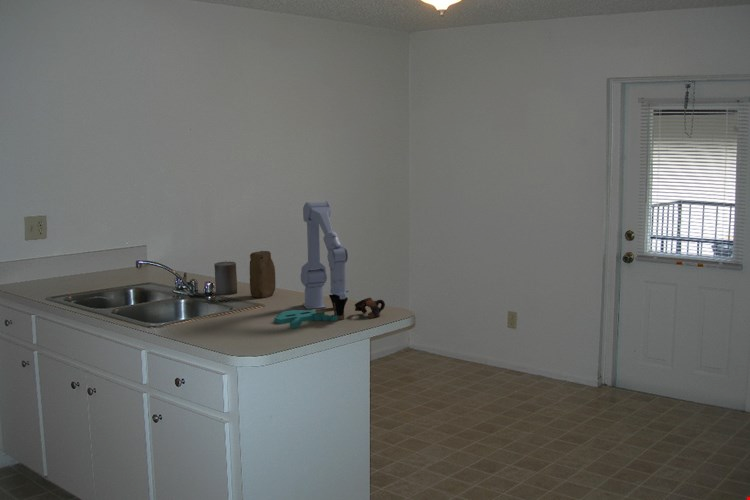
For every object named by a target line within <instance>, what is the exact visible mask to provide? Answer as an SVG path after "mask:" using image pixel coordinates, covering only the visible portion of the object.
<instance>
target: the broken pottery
mask: <svg viewBox="0 0 750 500" xmlns="http://www.w3.org/2000/svg"><path fill="white" fill-rule="evenodd" d="M379 305H380V307H379ZM354 307H355V309H354V311H355V312H361V313H362V314H363V315H364V314H365V315H366V313H367V316H368V318H369V320H370V319H373V318H378V317H380V314H381V312H382V311H383V310H384V309H385V307H386V303H385V301H384V300H383V299H377V300H374V299H372V297H366V298H364V299H362V300H359V301H358V302H356V303H354ZM367 307H368V308H370V309H371V311H370V312H367V311H368V310H367V309H366V308H367Z"/></svg>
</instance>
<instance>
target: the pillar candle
mask: <svg viewBox="0 0 750 500" xmlns="http://www.w3.org/2000/svg"><path fill="white" fill-rule="evenodd" d="M213 267H214V282H215V294H216V295H220V296H229V295H234V294H237V293H238V277H237V263H236V262H235V261H226V260H225V261H220V262H219V261H218V262H216V263H215V262H214V266H213Z"/></svg>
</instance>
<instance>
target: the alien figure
mask: <svg viewBox="0 0 750 500" xmlns="http://www.w3.org/2000/svg"><path fill="white" fill-rule="evenodd" d="M273 321H274V323H276V324H279V325H284V324H289V328H290V329H298V328H299V327H301V325H302V324H303V323H304V322H310V321H316V322H318V321H324V322H329V321H331V322H336V321H339V320H338V316H337V315H334V314H331V315H329V314H326V312H321V313H319V314H317V313H316V310H312V309H307V310H304V309H301V310H297V309H291V310H285V311H280V312H279V313H278V314H277V315H276V317H273Z"/></svg>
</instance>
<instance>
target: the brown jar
mask: <svg viewBox="0 0 750 500" xmlns="http://www.w3.org/2000/svg"><path fill="white" fill-rule="evenodd" d="M249 259H250V260H249V289H250V290H249V291H250V296H251V297H254V298H257V299H262V298H263V299H264V298H269V297H271V296H274V293H275V291H276V285H277V284H276V269H275V268H276V267H275V264H274V261H273V259H272V253H271V251H268V250H260V251H255V252H251V253H250V254H249Z"/></svg>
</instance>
